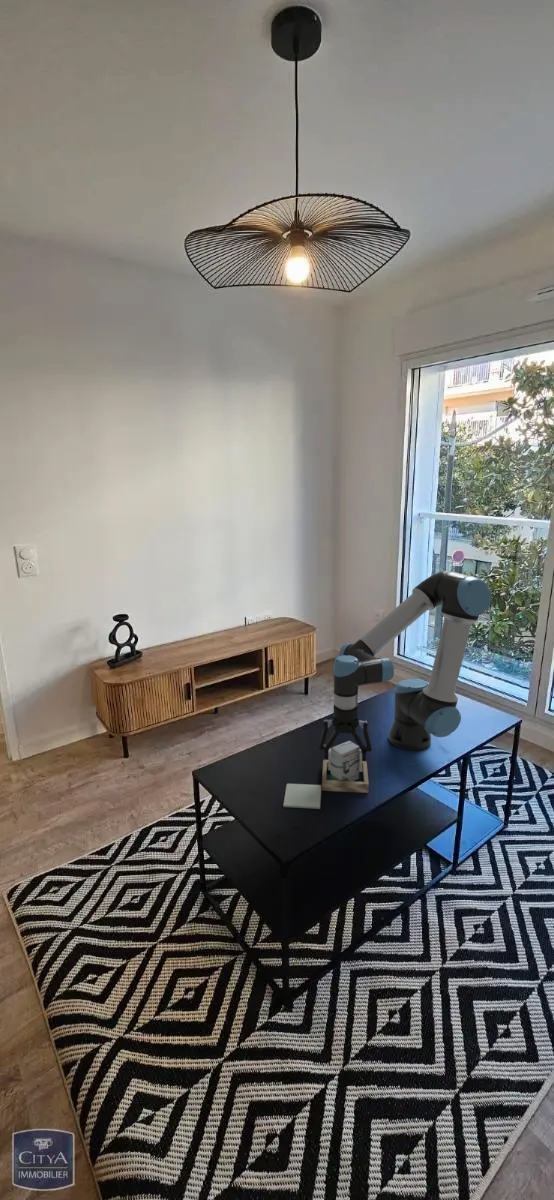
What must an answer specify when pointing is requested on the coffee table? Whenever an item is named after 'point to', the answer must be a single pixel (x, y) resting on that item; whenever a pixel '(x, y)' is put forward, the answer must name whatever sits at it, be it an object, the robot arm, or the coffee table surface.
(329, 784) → the pocket
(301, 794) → the tile
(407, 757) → the coffee table surface
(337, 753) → the ink box
